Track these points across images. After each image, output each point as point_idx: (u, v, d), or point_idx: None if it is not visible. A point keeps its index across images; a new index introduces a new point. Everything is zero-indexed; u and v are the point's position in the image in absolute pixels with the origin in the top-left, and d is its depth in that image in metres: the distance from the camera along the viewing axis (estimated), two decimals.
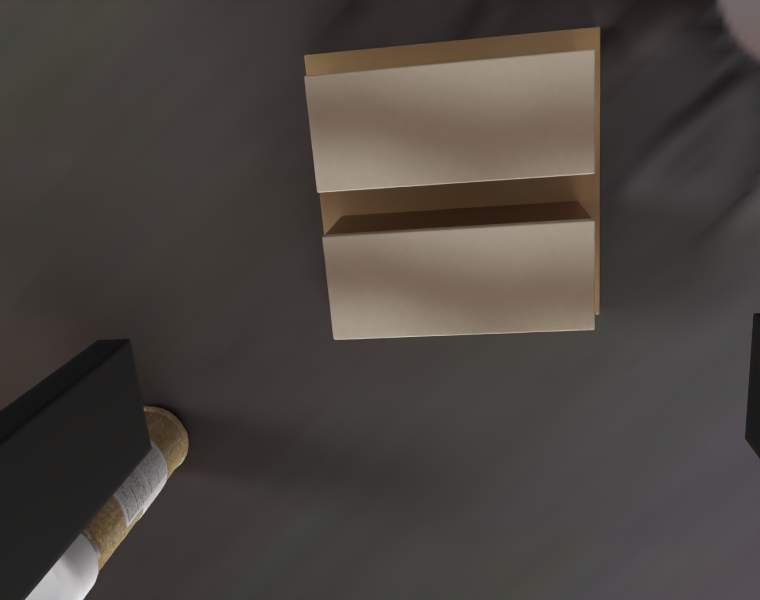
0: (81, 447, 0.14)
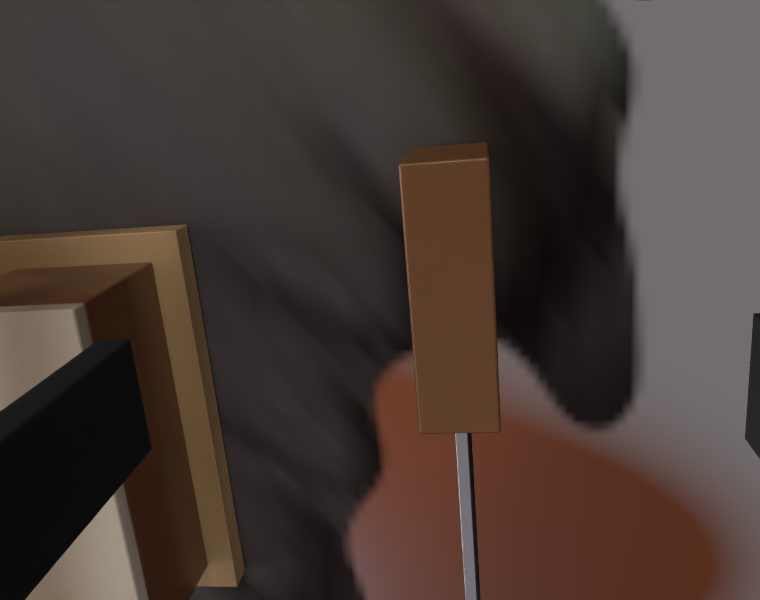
0: (81, 447, 0.14)
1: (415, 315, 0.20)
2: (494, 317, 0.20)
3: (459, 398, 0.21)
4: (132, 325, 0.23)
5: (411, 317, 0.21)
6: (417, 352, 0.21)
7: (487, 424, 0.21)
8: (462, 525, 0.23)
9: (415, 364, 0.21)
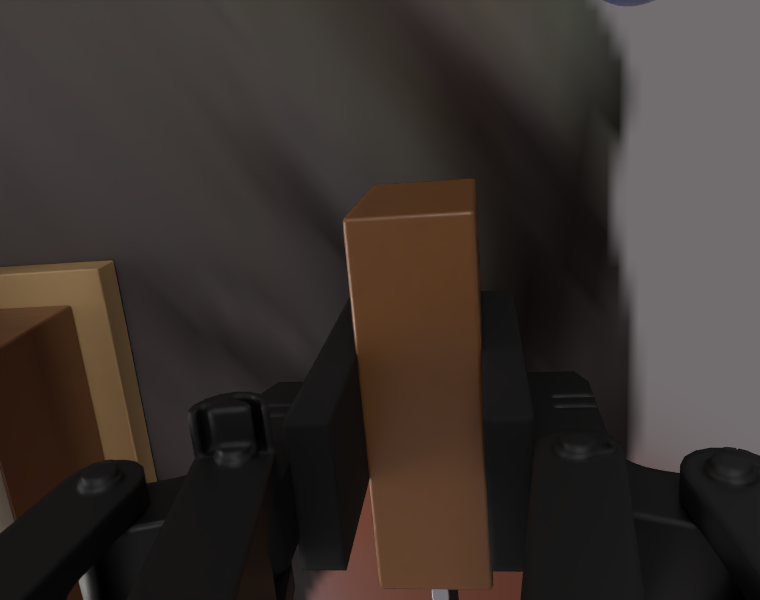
0: None
1: (370, 431, 0.14)
2: (483, 436, 0.14)
3: (434, 544, 0.15)
4: (42, 382, 0.19)
5: (365, 433, 0.14)
6: (374, 481, 0.15)
7: (474, 578, 0.15)
8: None
9: (372, 497, 0.15)
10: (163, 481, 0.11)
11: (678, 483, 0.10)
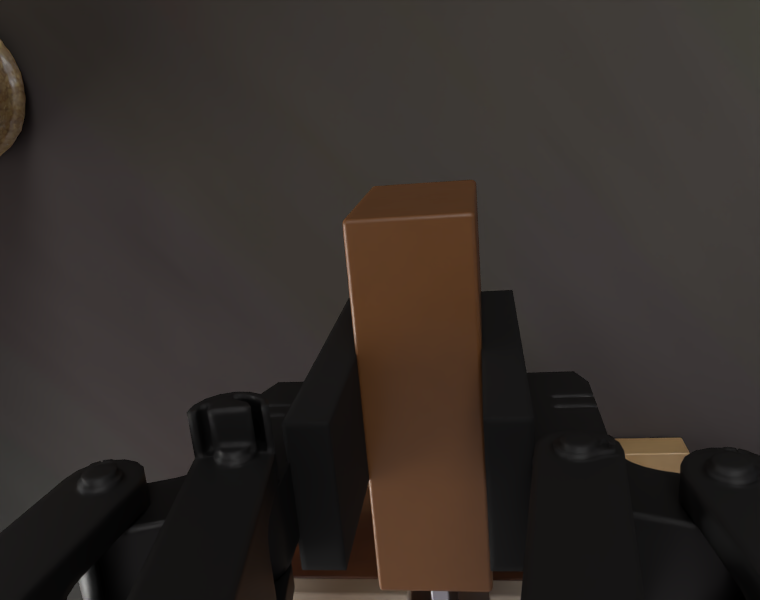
0: None
1: (370, 433, 0.14)
2: (483, 437, 0.14)
3: (434, 546, 0.15)
4: None
5: (365, 435, 0.14)
6: (374, 482, 0.15)
7: (475, 581, 0.15)
8: None
9: (372, 498, 0.15)
10: (163, 481, 0.11)
11: (678, 483, 0.10)
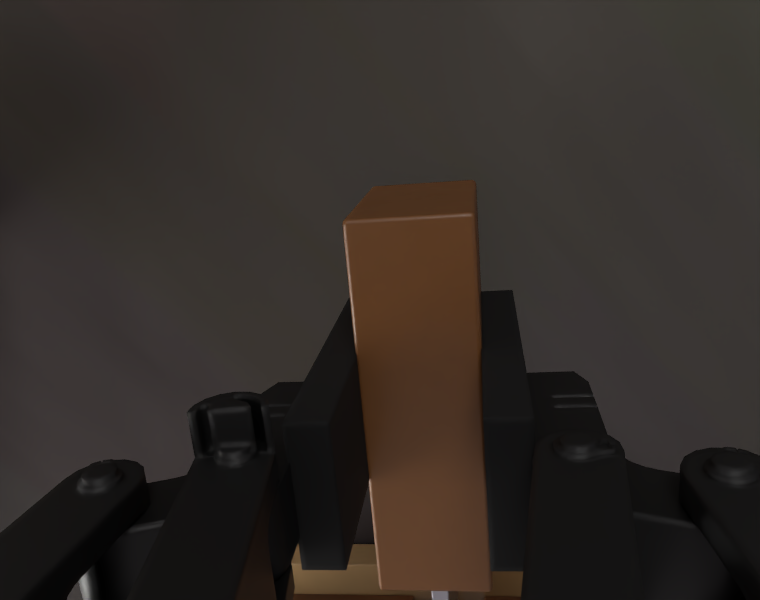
0: None
1: (370, 433, 0.14)
2: (483, 437, 0.14)
3: (434, 546, 0.15)
4: None
5: (365, 435, 0.14)
6: (374, 482, 0.15)
7: (475, 580, 0.15)
8: None
9: (372, 498, 0.15)
10: (163, 481, 0.11)
11: (678, 483, 0.10)
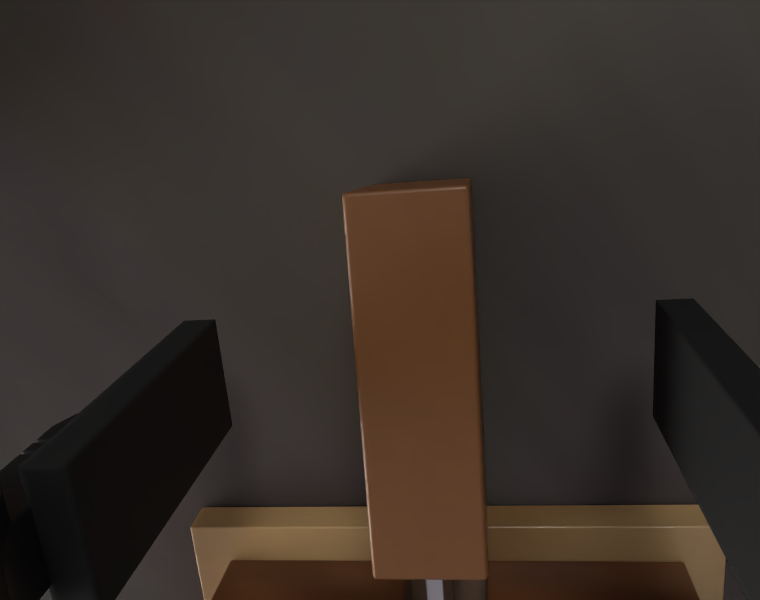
0: (181, 419, 0.15)
1: (366, 409, 0.14)
2: (478, 413, 0.14)
3: (429, 529, 0.15)
4: None
5: (360, 411, 0.14)
6: (369, 462, 0.15)
7: (470, 567, 0.15)
8: None
9: (366, 479, 0.15)
10: None
11: None
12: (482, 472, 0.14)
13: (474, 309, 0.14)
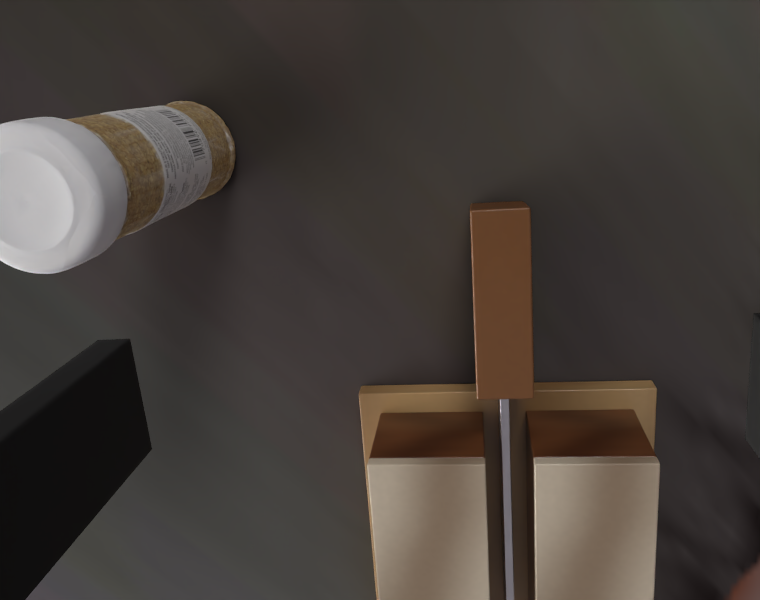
0: (81, 447, 0.14)
1: (477, 313, 0.30)
2: (531, 315, 0.30)
3: (506, 373, 0.30)
4: None
5: (474, 315, 0.30)
6: (477, 339, 0.30)
7: (525, 392, 0.30)
8: (503, 474, 0.32)
9: (476, 348, 0.30)
10: None
11: None
12: (532, 344, 0.30)
13: (531, 265, 0.29)
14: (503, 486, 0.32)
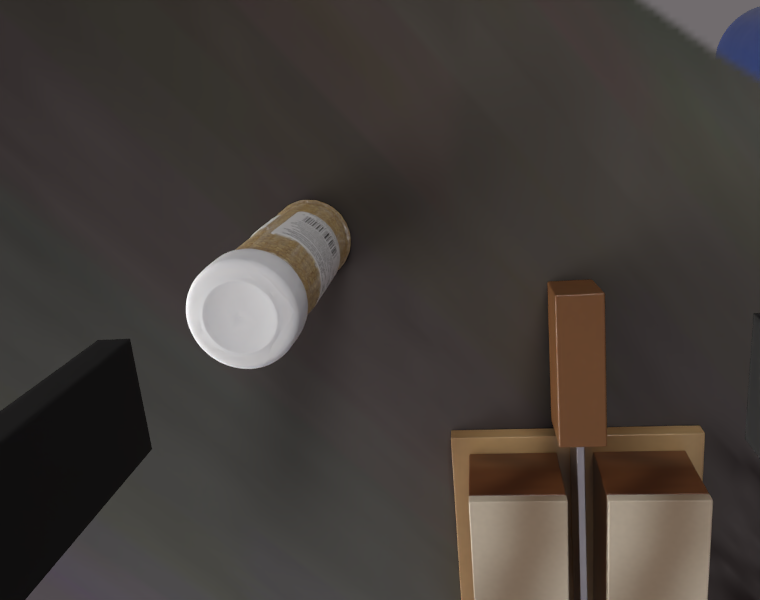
0: (81, 447, 0.14)
1: (560, 378, 0.36)
2: (605, 379, 0.36)
3: (583, 426, 0.37)
4: None
5: (557, 379, 0.37)
6: (560, 399, 0.37)
7: (599, 441, 0.37)
8: (579, 508, 0.39)
9: (559, 406, 0.37)
10: None
11: None
12: (606, 402, 0.36)
13: (605, 339, 0.36)
14: (579, 517, 0.39)
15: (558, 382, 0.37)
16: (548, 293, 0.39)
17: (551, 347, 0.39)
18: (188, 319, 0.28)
